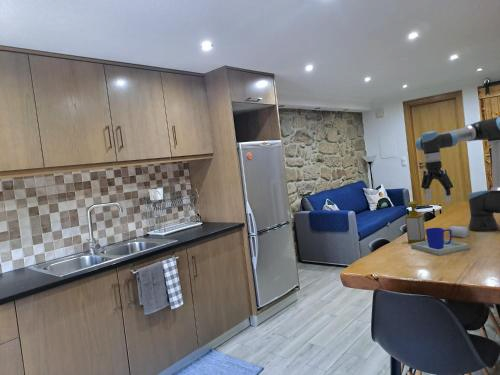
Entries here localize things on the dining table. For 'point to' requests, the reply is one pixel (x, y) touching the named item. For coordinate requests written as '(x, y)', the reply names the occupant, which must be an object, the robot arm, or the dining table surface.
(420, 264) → the dining table surface
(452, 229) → the white cylinder
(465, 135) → the robot arm
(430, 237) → the mug
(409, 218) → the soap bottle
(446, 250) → the tray
